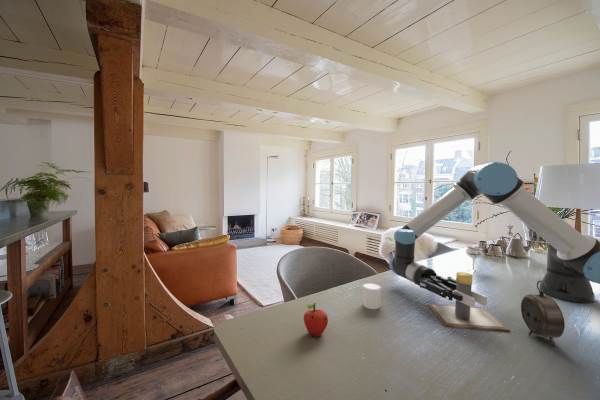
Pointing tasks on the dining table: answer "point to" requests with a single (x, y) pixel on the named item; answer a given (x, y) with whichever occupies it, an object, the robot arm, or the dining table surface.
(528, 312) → the alarm clock
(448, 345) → the dining table surface
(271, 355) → the dining table surface
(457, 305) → the marker
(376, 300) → the white cylinder
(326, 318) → the apple
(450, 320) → the wooden picture frame
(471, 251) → the wineglass
